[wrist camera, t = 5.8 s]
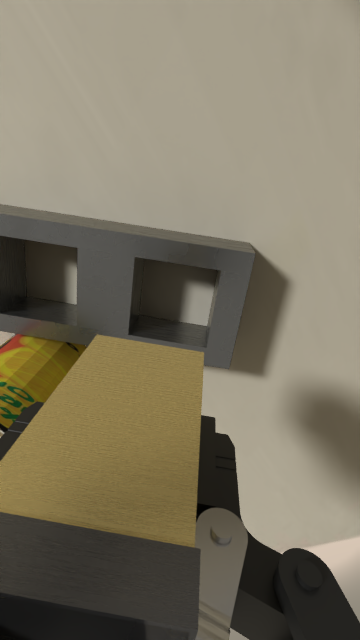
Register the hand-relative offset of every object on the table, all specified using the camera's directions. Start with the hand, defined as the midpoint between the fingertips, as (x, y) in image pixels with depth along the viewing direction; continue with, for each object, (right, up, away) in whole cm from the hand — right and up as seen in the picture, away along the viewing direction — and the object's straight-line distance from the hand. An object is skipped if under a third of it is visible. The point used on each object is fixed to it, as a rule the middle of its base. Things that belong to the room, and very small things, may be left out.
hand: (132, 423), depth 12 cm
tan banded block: (0, +1, +2) cm, 2 cm away
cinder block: (-3, +7, +16) cm, 17 cm away
